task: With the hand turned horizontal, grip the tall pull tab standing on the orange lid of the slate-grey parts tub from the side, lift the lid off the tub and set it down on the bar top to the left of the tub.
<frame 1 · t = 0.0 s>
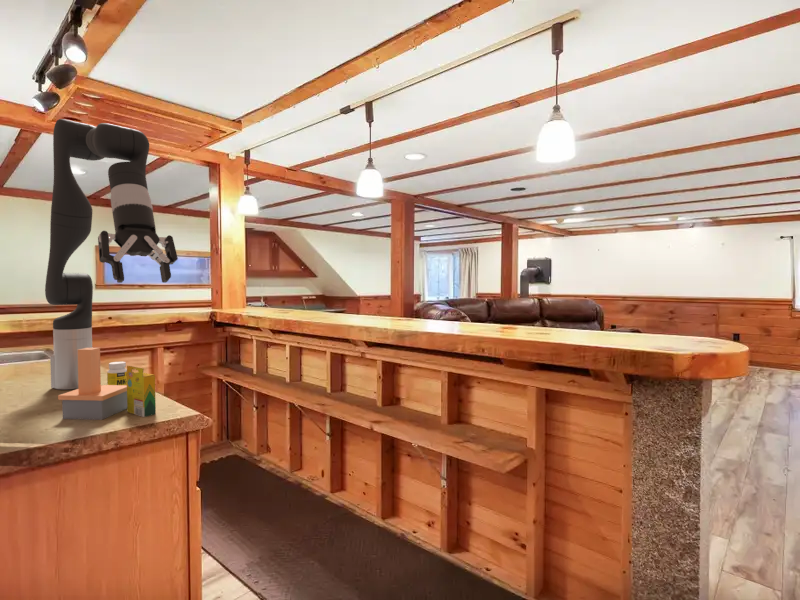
hand: (143, 281, 94), 31 cm above the countertop, tool tilted 20°, fingers open, 8 cm apart
crayon box: (141, 416, 106), on the countertop
lid: (96, 394, 105), point 5 cm above the countertop, touching tub
supplement bottle: (117, 393, 126), on the countertop
walnut block: (99, 411, 106), point 1 cm above the countertop, touching tub
tub: (96, 415, 105), on the countertop
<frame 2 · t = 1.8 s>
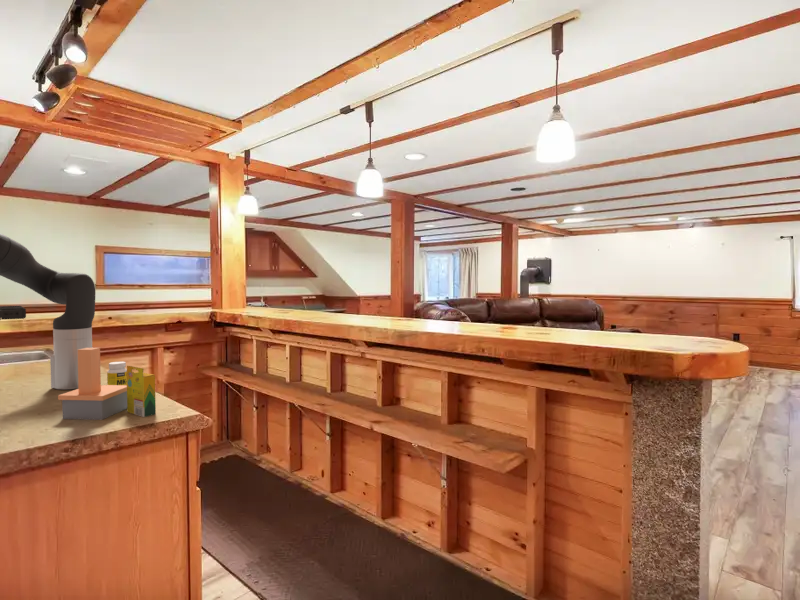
hand: (24, 311, 94), 25 cm above the countertop, tool horizontal, fingers open, 8 cm apart
nothing on the countertop moved.
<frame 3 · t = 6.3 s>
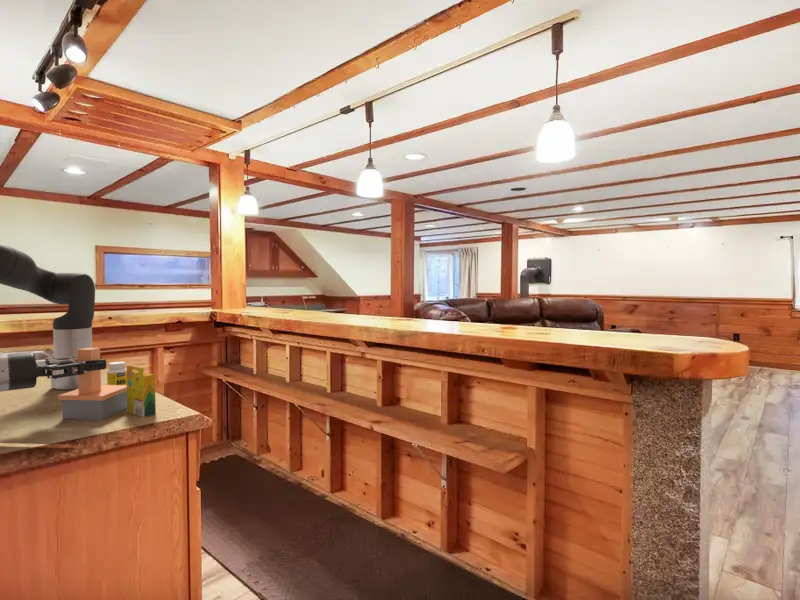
hand: (103, 362, 104), 13 cm above the countertop, tool horizontal, fingers closed on lid, 4 cm apart
lid: (96, 394, 105), point 5 cm above the countertop, touching gripper, tub
everything else where it was.
when the fingers open (9 cm above the countertop, at t = 12.3 s): lid drops 2 cm, on the countertop.
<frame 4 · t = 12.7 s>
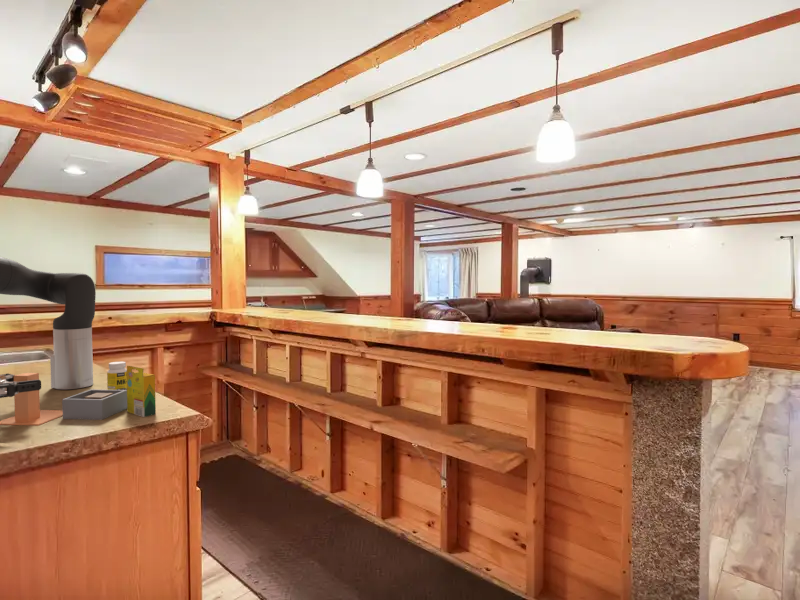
hand: (39, 381, 100), 9 cm above the countertop, tool horizontal, fingers open, 8 cm apart
lid: (35, 421, 101), on the countertop
everything else where it was.
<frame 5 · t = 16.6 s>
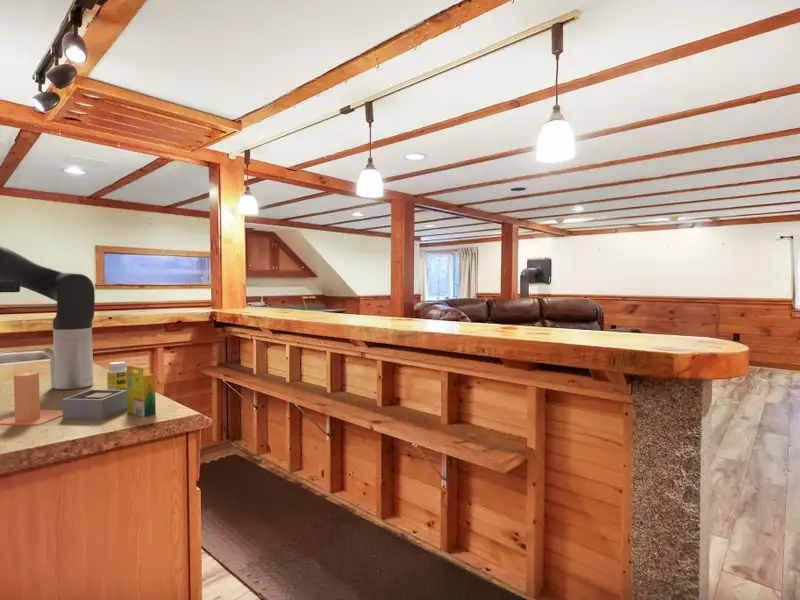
hand: (18, 286, 98), 30 cm above the countertop, tool horizontal, fingers open, 8 cm apart
nothing on the countertop moved.
at the end: lid inside the target area (0.7 cm from its centre), on the countertop; lid touching countertop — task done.
